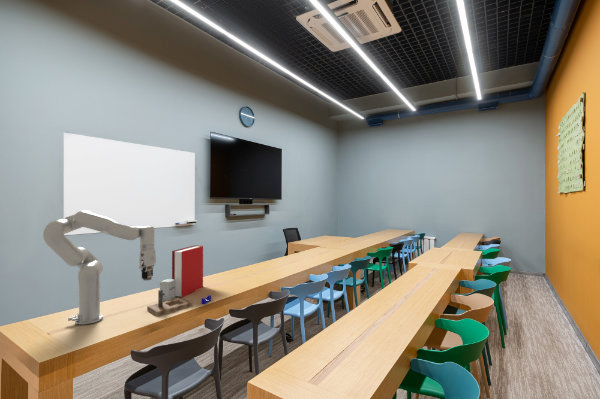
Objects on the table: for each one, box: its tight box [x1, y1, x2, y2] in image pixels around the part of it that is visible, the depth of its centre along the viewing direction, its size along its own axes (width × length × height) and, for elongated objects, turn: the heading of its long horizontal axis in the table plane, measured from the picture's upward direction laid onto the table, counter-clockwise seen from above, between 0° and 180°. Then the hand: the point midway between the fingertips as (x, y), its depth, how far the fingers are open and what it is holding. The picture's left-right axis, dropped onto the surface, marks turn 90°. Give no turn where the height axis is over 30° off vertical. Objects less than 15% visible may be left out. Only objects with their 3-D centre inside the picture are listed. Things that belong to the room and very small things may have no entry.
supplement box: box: [159, 278, 176, 302], centre depth 204 cm, size 7×7×13 cm
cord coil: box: [143, 266, 153, 281], centre depth 178 cm, size 5×5×8 cm
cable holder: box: [201, 294, 212, 305], centre depth 196 cm, size 8×4×4 cm, turn 163°
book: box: [171, 244, 204, 298], centre depth 221 cm, size 27×8×32 cm, turn 166°
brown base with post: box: [146, 289, 193, 317], centre depth 186 cm, size 22×14×12 cm, turn 138°
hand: (147, 277), depth 178 cm, fingers closed on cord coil, 4 cm apart
